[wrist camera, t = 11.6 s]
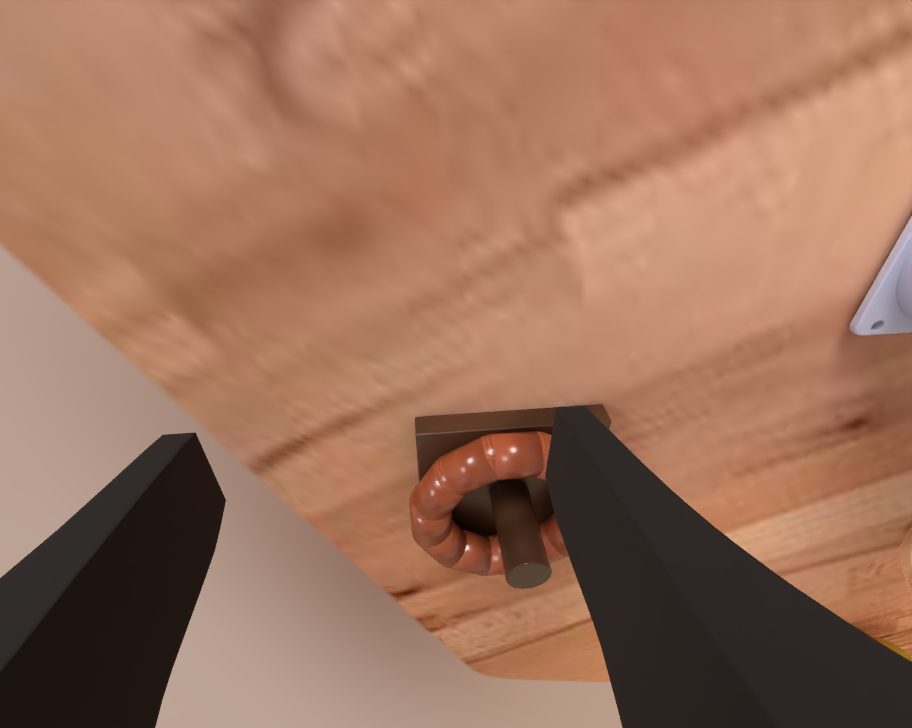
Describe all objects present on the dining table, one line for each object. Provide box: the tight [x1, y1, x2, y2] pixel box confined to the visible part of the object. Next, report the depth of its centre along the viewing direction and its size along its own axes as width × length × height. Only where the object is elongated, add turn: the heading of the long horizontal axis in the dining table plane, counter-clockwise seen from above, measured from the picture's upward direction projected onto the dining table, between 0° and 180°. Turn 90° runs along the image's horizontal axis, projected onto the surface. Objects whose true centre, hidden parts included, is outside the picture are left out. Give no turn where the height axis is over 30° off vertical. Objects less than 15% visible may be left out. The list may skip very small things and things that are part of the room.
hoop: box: [409, 431, 568, 576], centre depth 23 cm, size 10×10×2 cm
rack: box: [415, 405, 611, 589], centre depth 23 cm, size 9×9×6 cm
